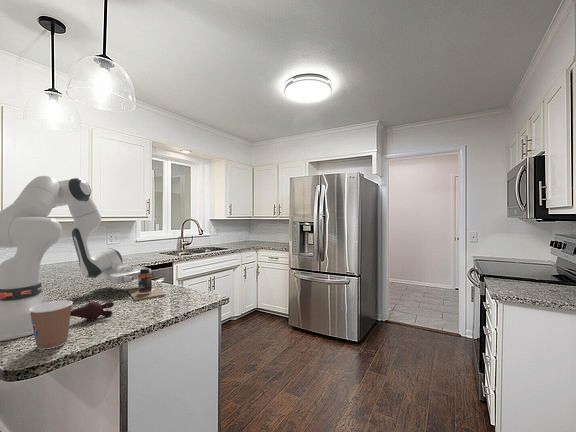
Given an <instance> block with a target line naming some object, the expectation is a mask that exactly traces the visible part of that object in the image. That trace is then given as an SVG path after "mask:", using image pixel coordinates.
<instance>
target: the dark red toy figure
mask: <svg viewBox="0 0 576 432" xmlns="http://www.w3.org/2000/svg"><path fill="white" fill-rule="evenodd" d="M114 305H115V303H114V302H113V301H108V302H106V303H103V304H101V303H99V302H95V301H92V302H90V301H89V302H88V304H86V305H83V306H80V307H78V308H75V309H71V314H70V317H75V318H76V317H77V318H82V319H86V320H87V322H89V321H93V320H96V319H98V318H99V317H101V316H103V317H111V316H112V315H113V313H114V312H113V311H112V310H108V309H110V308H113V307H114ZM104 309H105V310H104ZM106 309H107V310H106Z"/></svg>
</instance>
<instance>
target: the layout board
mask: <svg viewBox="0 0 576 432" xmlns="http://www.w3.org/2000/svg"><path fill="white" fill-rule="evenodd" d="M126 291H127V293H128V294H129V296H130V297H131V298H132V300H133V301H134V302H137V301H144V300H149V299H154V298H160V297H165V295H166V294H165V293H164V292H163V291H162V290H161V289H160V288H159V287H157V286H156V285H155V284H152V290H151V291H149V292H145V293H141V292H139V286H138V287H134V288H133V287H132V288H127V289H126Z"/></svg>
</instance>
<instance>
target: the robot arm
mask: <svg viewBox="0 0 576 432" xmlns="http://www.w3.org/2000/svg"><path fill="white" fill-rule="evenodd" d="M91 194H92V190H91V186H90V184H89V183H88V182H87V181H86V180H85V179H83V178H79V177H74V178H71V179H64V180H60V181H57V180H56V179H55V178H54V177H51V176H50V175H49V176H48V175H39V176H36V177H35V178H33V179H32V180H31V181H29V183H27V184H26V186H25V187H23V189H22V190H21V192H20V193H19V195H18V197H17V198H16V199H15V200H14V201H13V203H11V204H9V206H7V207H6V208H4V209H2V210H0V249H4V248H5V249H7V248H16V253H15V254H14V255H13V256H12V257H10V258H8V259H6V260H4V261H2V262H1V263H0V342H3V341H4V342H5V341H10V340H14V339H18V338H23V337H28V336H31V335H34V331H33V325H32V320H31V314H30V313H31V312H29V309H30V308H31V307H33V306H36V305H39V304H43V303H47V302H48V297H47V296H46V295H43V294H42V291H43V289H42V288H43V286H42V282H41V280H40V279H41V278H40V277H41V264H42V263H41V262H42V260H43V257H44V255H45V253H46V252H47V251H48V250H49V249H50V248H51V247H52V246H53V245H55V244H57V243H58V242H59V240H60V239H61V238H62V235H63V227H62V224H61V223H60V222H59V221H58V220H57V219H55V218H52V217H49V215H50V214H51V212H52V210H53V209H54V208H57V207H63V206H67V207H68V210H69V212H70V215H71V217H72V219H73V222H74V227H73V229H72V231H71V235H72V236H71V237H72V242H73V245H74V248H75V253H76V255H77V259H78V264H79V271H80V272H81V274H82V275H83V276H84V277H85V278H91V279H94V278H95V279H96V278H97V277H98V276H99V277H100V278H102V279H103V280H105V281H108V282H109V283H111V284H127V283H129V282H132V281H134V280H138V275H139V274H140V269H143V268H146V267H144V266H140V265H131V266H130V265H123V256H122V254H121V253H120V252H119V251H118V250H116V249H114V248H111V247H110V248H109V247H108V248H107V249H104V250H102V251H100V252H99V253H96V254H95V255H92V256H91V253H90V251H89V250H90V249H89V247H88V239H89V237H90V236H91V235H92V233H94V232H95V231H96V230H97V229H98V227H100V225H101V222H102V216H101V214H100V211H99V209H98V206H97V205H96V203H95V202H94V200H93V199H92V197H91ZM149 272H150V273H151V274H152V269H151V268H149Z"/></svg>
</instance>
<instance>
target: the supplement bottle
mask: <svg viewBox="0 0 576 432" xmlns="http://www.w3.org/2000/svg"><path fill="white" fill-rule="evenodd" d="M149 269H150V268H148V267H145V268H143V269H140V274H139V275H138V279H137V280H138V287H139V292H141V293H145V292H149V291H151V290H152V285H153V283H152V272H151V273H150V272H149Z"/></svg>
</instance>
